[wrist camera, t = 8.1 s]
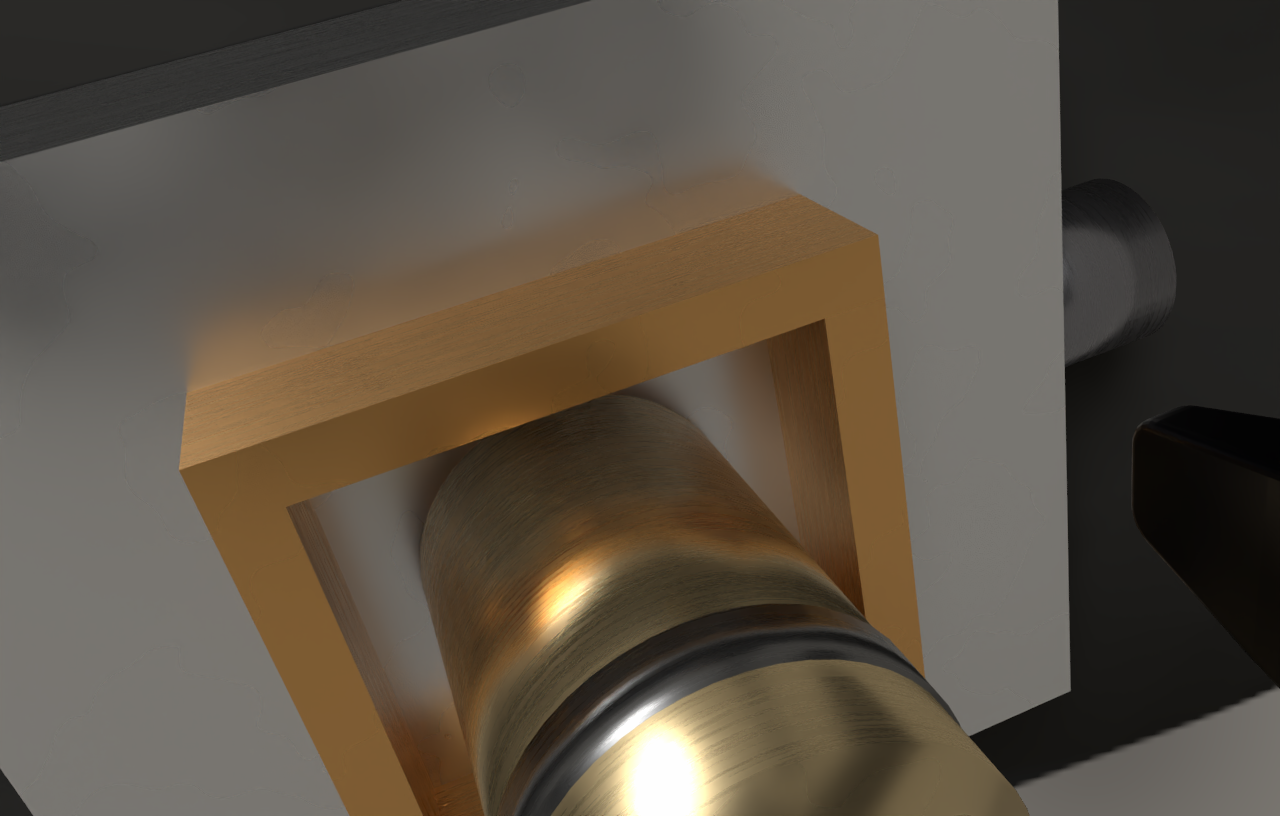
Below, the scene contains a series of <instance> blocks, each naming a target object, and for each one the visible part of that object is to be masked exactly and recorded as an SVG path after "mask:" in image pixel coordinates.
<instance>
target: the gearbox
mask: <svg viewBox="0 0 1280 816" xmlns="http://www.w3.org/2000/svg"><path fill="white" fill-rule="evenodd" d="M1175 293H1176V269H1175V262H1174V257H1173V253H1172V249H1171V246H1170V243H1169V240H1168V238H1167V235H1166V233H1165V230H1164V228H1163V227H1162V225H1161V223H1160V221H1159V219H1158V218H1157V216H1156V215H1155V213H1154V212H1153V210H1152V209H1151V208H1150V206H1149V205H1148V204H1147V203H1146V202H1145V201H1144V200H1143V199H1142V198H1141V197H1140V196H1139V195H1138V194H1137V193H1136V192H1134V191H1133V190H1132V189H1131V188H1129V187H1127V186H1125V185H1124V184H1122V183H1119V182H1117V181H1114V180H1110V179H1094V180H1090V181H1087V182H1084V183H1081V184H1078V185H1076V186H1073V187H1070V188H1067V189H1064V190H1061V142H1060V88H1059V33H1058V0H404V1H400V2H396V3H392V4H388V5H385V6H381V7H377V8H373V9H369V10H366V11H362V12H358V13H354V14H351V15H347V16H343V17H339V18H335V19H332V20H328V21H324V22H320V23H317V24H313V25H309V26H305V27H301V28H298V29H294V30H290V31H286V32H282V33H279V34H275V35H271V36H267V37H264V38H260V39H256V40H252V41H248V42H245V43H241V44H237V45H233V46H229V47H226V48H222V49H218V50H214V51H211V52H207V53H203V54H199V55H195V56H192V57H188V58H184V59H180V60H176V61H173V62H169V63H165V64H161V65H158V66H154V67H150V68H146V69H142V70H139V71H135V72H131V73H127V74H124V75H120V76H116V77H112V78H108V79H105V80H101V81H97V82H93V83H89V84H86V85H82V86H78V87H74V88H71V89H67V90H63V91H59V92H55V93H52V94H48V95H44V96H40V97H36V98H33V99H29V100H25V101H21V102H18V103H14V104H10V105H6V106H2V107H0V768H1V770H2V771H3V773H4V774H5V775H6V777H7V778H8V780H9V781H10V783H11V784H12V785H13V787H14V788H15V790H16V791H17V793H18V794H19V795H20V797H21V798H22V800H23V801H24V803H25V804H26V805H27V807H28V808H29V810H30V811H31V813H32V814H33V815H34V816H484V812H483V808H482V805H481V801H480V797H479V793H478V790H477V786H476V782H475V779H474V775H473V771H472V767H471V764H470V760H469V756H468V753H467V749H466V745H465V742H464V738H463V734H462V730H461V727H460V723H459V719H458V716H457V712H456V708H455V704H454V701H453V697H452V693H451V690H450V686H449V682H448V678H447V675H446V671H445V667H444V664H443V660H442V656H441V653H440V649H439V645H438V641H437V638H436V634H435V630H434V627H433V623H432V619H431V615H430V612H429V608H428V604H427V601H426V597H425V593H424V590H423V586H422V579H421V572H420V546H421V540H422V535H423V529H424V525H425V522H426V519H427V516H428V513H429V510H430V507H431V505H432V503H433V501H434V499H435V497H436V495H437V493H438V491H439V489H440V487H441V486H442V484H443V483H444V481H445V480H446V478H447V477H448V475H449V474H450V472H451V471H452V470H453V468H454V467H455V466H456V465H457V464H458V463H459V461H460V460H461V459H462V458H463V457H464V456H465V454H466V453H467V452H468V451H469V450H471V449H472V448H473V447H474V446H475V445H476V444H477V443H478V442H479V441H480V440H481V439H483V438H485V437H488V436H490V435H493V434H496V433H499V432H502V431H505V430H508V429H510V428H513V427H516V426H519V425H522V424H525V423H528V422H530V421H533V420H536V419H539V418H542V417H545V416H548V415H550V414H553V413H556V412H559V411H562V410H565V409H568V408H570V407H573V406H576V405H579V404H582V403H585V402H588V401H590V400H593V399H596V398H599V397H602V396H605V395H608V394H616V395H627V396H633V397H637V398H641V399H646V400H650V401H652V402H655V403H657V404H660V405H663V406H665V407H668V408H669V409H671V410H673V411H675V412H676V413H678V414H680V415H682V416H683V417H685V418H686V419H687V420H689V421H690V422H691V423H692V424H694V425H695V426H696V427H697V428H699V430H700V431H701V432H702V433H703V434H704V435H705V436H706V437H707V438H708V439H709V440H710V441H711V443H712V444H713V445H714V446H715V447H716V448H717V449H718V451H719V452H720V453H721V454H722V455H723V456H724V457H725V459H726V460H727V461H728V462H729V463H730V464H731V465H732V467H733V468H734V469H735V470H736V471H737V472H738V473H739V475H740V476H741V477H742V478H743V479H744V480H745V481H746V483H747V484H748V485H749V486H750V487H751V488H752V489H753V491H754V492H755V493H756V494H757V495H758V496H759V497H760V499H761V500H762V501H763V502H764V503H765V504H766V505H767V507H768V508H769V509H770V510H771V511H772V512H773V513H774V515H775V516H776V517H777V518H778V519H779V520H780V521H781V523H782V524H783V525H784V526H785V527H786V528H787V529H788V531H789V532H790V533H791V534H792V535H793V536H794V537H795V539H796V540H797V541H798V542H799V543H800V544H801V545H802V547H803V548H804V549H805V550H806V551H807V552H808V553H809V555H810V556H811V557H812V558H813V559H814V560H815V561H816V563H817V564H818V565H819V566H820V567H821V568H822V569H823V571H824V572H825V573H826V574H827V575H828V576H829V577H830V579H831V580H832V581H833V582H834V583H835V584H836V585H837V587H838V588H839V589H840V590H841V591H842V592H843V593H844V595H845V596H846V597H847V598H848V599H849V600H850V601H851V603H852V604H853V605H854V606H855V607H856V608H857V609H858V611H859V612H860V613H861V614H862V615H863V616H864V617H865V619H866V620H867V621H868V622H869V623H870V624H871V625H872V627H874V628H875V629H876V630H878V631H879V632H880V633H882V634H883V635H885V636H886V637H887V638H889V639H890V640H891V641H892V643H893V644H894V645H895V646H896V647H897V648H898V649H899V650H900V651H901V652H902V653H903V654H904V656H905V657H906V658H907V659H908V660H909V661H910V662H911V663H912V665H913V666H914V667H915V668H916V669H917V670H918V671H919V672H920V674H921V675H922V676H923V677H924V678H925V679H926V680H927V682H928V683H929V684H930V685H931V686H932V687H933V688H934V689H935V691H936V692H937V693H938V694H939V695H940V696H941V697H942V698H943V700H944V701H945V702H946V703H947V704H948V705H949V707H950V709H951V710H952V712H953V713H954V715H955V717H956V718H957V720H958V722H959V723H960V726H961V728H962V729H963V730H964V732H965V733H966V734H967V735H968V736H970V735H973V734H975V733H977V732H979V731H982V730H984V729H986V728H988V727H991V726H993V725H995V724H997V723H1000V722H1002V721H1004V720H1006V719H1009V718H1011V717H1013V716H1015V715H1018V714H1020V713H1022V712H1024V711H1027V710H1029V709H1031V708H1033V707H1036V706H1038V705H1040V704H1042V703H1045V702H1047V701H1049V700H1051V699H1053V698H1056V697H1058V696H1060V695H1062V694H1065V693H1067V692H1069V691H1071V688H1070V633H1069V579H1068V524H1067V470H1066V415H1065V367H1067V366H1070V365H1073V364H1075V363H1078V362H1081V361H1083V360H1086V359H1089V358H1091V357H1094V356H1097V355H1099V354H1102V353H1104V352H1107V351H1110V350H1112V349H1115V348H1118V347H1120V346H1123V345H1126V344H1128V343H1131V342H1134V341H1136V340H1139V339H1142V338H1144V337H1147V336H1149V335H1151V334H1153V333H1155V332H1156V331H1157V330H1158V329H1160V328H1161V327H1162V325H1163V324H1164V323H1165V322H1166V320H1167V318H1168V316H1169V315H1170V313H1171V310H1172V307H1173V304H1174V299H1175Z"/></svg>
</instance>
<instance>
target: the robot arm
mask: <svg viewBox="0 0 1280 816" xmlns="http://www.w3.org/2000/svg"><path fill="white" fill-rule="evenodd" d="M1132 512H1133V516H1134V520H1135V522H1136V524H1137V527H1138V529H1139V530H1140V532H1141V534H1142V535H1143V537H1144V538H1145V539H1146V541H1147V542H1148V543H1149V544H1150V545H1151V546H1152V547H1153V549H1154V550H1155V551H1156V552H1157V553H1158V554H1159V555H1160V556H1161V558H1162V559H1163V560H1164V561H1165V562H1166V563H1167V564H1168V565H1169V567H1170V568H1171V569H1172V570H1173V571H1174V572H1175V573H1176V575H1177V576H1178V577H1179V578H1180V579H1181V580H1182V581H1183V582H1184V584H1185V585H1186V586H1187V587H1188V588H1189V589H1190V590H1191V591H1192V593H1193V594H1194V595H1195V596H1196V597H1197V598H1198V599H1199V600H1200V602H1201V603H1202V604H1203V605H1204V606H1205V607H1206V608H1207V609H1208V611H1209V612H1210V613H1211V614H1212V615H1213V616H1214V617H1215V618H1216V620H1217V621H1218V622H1219V623H1220V624H1221V625H1222V626H1223V627H1224V629H1225V630H1226V631H1227V632H1228V633H1229V634H1230V635H1231V636H1232V638H1233V639H1234V640H1235V641H1236V642H1237V643H1238V644H1239V646H1240V647H1241V648H1242V649H1243V650H1244V651H1245V652H1246V653H1247V655H1248V656H1249V657H1250V658H1251V659H1252V660H1253V661H1254V662H1255V663H1256V664H1257V665H1258V666H1259V668H1260V669H1261V670H1262V671H1263V672H1264V673H1265V674H1266V675H1267V676H1268V677H1269V678H1270V679H1271V680H1272V681H1273V682H1274V683H1275V685H1277V686H1278V687H1279V688H1280V419H1277V418H1271V417H1264V416H1258V415H1251V414H1244V413H1238V412H1231V411H1225V410H1218V409H1212V408H1205V407H1199V406H1181V407H1178V408H1175V409H1172V410H1170V411H1167V412H1165V413H1162V414H1160V415H1157V416H1155V417H1152V418H1150V419H1147V420H1145V421H1144V422H1142V423H1141V424H1140V425H1139V426H1138V427H1137V429H1136V431H1135V433H1134V435H1133V441H1132Z"/></svg>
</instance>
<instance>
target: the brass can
mask: <svg viewBox="0 0 1280 816" xmlns="http://www.w3.org/2000/svg"><path fill="white" fill-rule="evenodd" d="M420 572H421V579H422V586H423V590H424V593H425V597H426V601H427V604H428V608H429V612H430V615H431V619H432V623H433V627H434V630H435V634H436V638H437V641H438V645H439V649H440V653H441V656H442V660H443V664H444V667H445V671H446V675H447V678H448V682H449V686H450V690H451V693H452V697H453V701H454V704H455V708H456V712H457V716H458V719H459V723H460V727H461V730H462V734H463V738H464V742H465V745H466V749H467V753H468V756H469V760H470V764H471V767H472V771H473V775H474V779H475V782H476V786H477V790H478V793H479V797H480V801H481V805H482V808H483V812H484V816H1029V813H1028V810H1027V808H1026V806H1025V805H1024V803H1023V801H1022V799H1021V798H1020V796H1019V794H1018V793H1017V791H1016V790H1015V789H1014V788H1013V786H1012V785H1011V784H1010V783H1009V782H1008V781H1007V780H1006V778H1005V777H1004V776H1003V775H1002V774H1001V773H1000V772H999V770H998V769H997V768H996V767H995V766H994V765H993V764H992V762H991V761H990V760H989V759H988V758H987V757H986V756H985V754H984V753H983V752H982V751H981V750H980V749H979V748H978V746H977V745H976V744H975V743H974V742H973V741H972V740H971V738H970V737H969V736H968V735H967V734H966V733H965V732H964V730H963V729H962V728H961V726H960V723H959V722H958V720H957V718H956V717H955V715H954V713H953V712H952V710H951V709H950V707H949V705H948V704H947V703H946V702H945V701H944V700H943V698H942V697H941V696H940V695H939V694H938V693H937V692H936V691H935V689H934V688H933V687H932V686H931V685H930V684H929V683H928V682H927V680H926V679H925V678H924V677H923V676H922V675H921V674H920V672H919V671H918V670H917V669H916V668H915V667H914V666H913V665H912V663H911V662H910V661H909V660H908V659H907V658H906V657H905V656H904V654H903V653H902V652H901V651H900V650H899V649H898V648H897V647H896V646H895V645H894V644H893V643H892V641H891V640H890V639H889V638H887V637H886V636H885V635H883V634H882V633H880V632H879V631H878V630H876V629H875V628H874V627H872V625H871V624H870V623H869V622H868V621H867V620H866V619H865V617H864V616H863V615H862V614H861V613H860V612H859V611H858V609H857V608H856V607H855V606H854V605H853V604H852V603H851V601H850V600H849V599H848V598H847V597H846V596H845V595H844V593H843V592H842V591H841V590H840V589H839V588H838V587H837V585H836V584H835V583H834V582H833V581H832V580H831V579H830V577H829V576H828V575H827V574H826V573H825V572H824V571H823V569H822V568H821V567H820V566H819V565H818V564H817V563H816V561H815V560H814V559H813V558H812V557H811V556H810V555H809V553H808V552H807V551H806V550H805V549H804V548H803V547H802V545H801V544H800V543H799V542H798V541H797V540H796V539H795V537H794V536H793V535H792V534H791V533H790V532H789V531H788V529H787V528H786V527H785V526H784V525H783V524H782V523H781V521H780V520H779V519H778V518H777V517H776V516H775V515H774V513H773V512H772V511H771V510H770V509H769V508H768V507H767V505H766V504H765V503H764V502H763V501H762V500H761V499H760V497H759V496H758V495H757V494H756V493H755V492H754V491H753V489H752V488H751V487H750V486H749V485H748V484H747V483H746V481H745V480H744V479H743V478H742V477H741V476H740V475H739V473H738V472H737V471H736V470H735V469H734V468H733V467H732V465H731V464H730V463H729V462H728V461H727V460H726V459H725V457H724V456H723V455H722V454H721V453H720V452H719V451H718V449H717V448H716V447H715V446H714V445H713V444H712V443H711V441H710V440H709V439H708V438H707V437H706V436H705V435H704V434H703V433H702V432H701V431H700V430H699V428H697V427H696V426H695V425H694V424H692V423H691V422H690V421H689V420H687V419H686V418H685V417H683V416H682V415H680V414H678V413H676V412H675V411H673V410H671V409H669V408H668V407H665V406H663V405H660V404H657V403H655V402H652V401H650V400H646V399H641V398H637V397H633V396H627V395H616V394H608V395H605V396H602V397H599V398H596V399H593V400H590V401H588V402H585V403H582V404H579V405H576V406H573V407H570V408H568V409H565V410H562V411H559V412H556V413H553V414H550V415H548V416H545V417H542V418H539V419H536V420H533V421H530V422H528V423H525V424H522V425H519V426H516V427H513V428H510V429H508V430H505V431H502V432H499V433H496V434H493V435H490V436H488V437H485V438H483V439H481V440H480V441H479V442H478V443H477V444H476V445H475V446H474V447H473V448H472V449H471V450H469V451H468V452H467V453H466V454H465V456H464V457H463V458H462V459H461V460H460V461H459V463H458V464H457V465H456V466H455V467H454V468H453V470H452V471H451V472H450V474H449V475H448V477H447V478H446V480H445V481H444V483H443V484H442V486H441V487H440V489H439V491H438V493H437V495H436V497H435V499H434V501H433V503H432V505H431V507H430V510H429V513H428V516H427V519H426V522H425V525H424V529H423V535H422V540H421V546H420Z"/></svg>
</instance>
